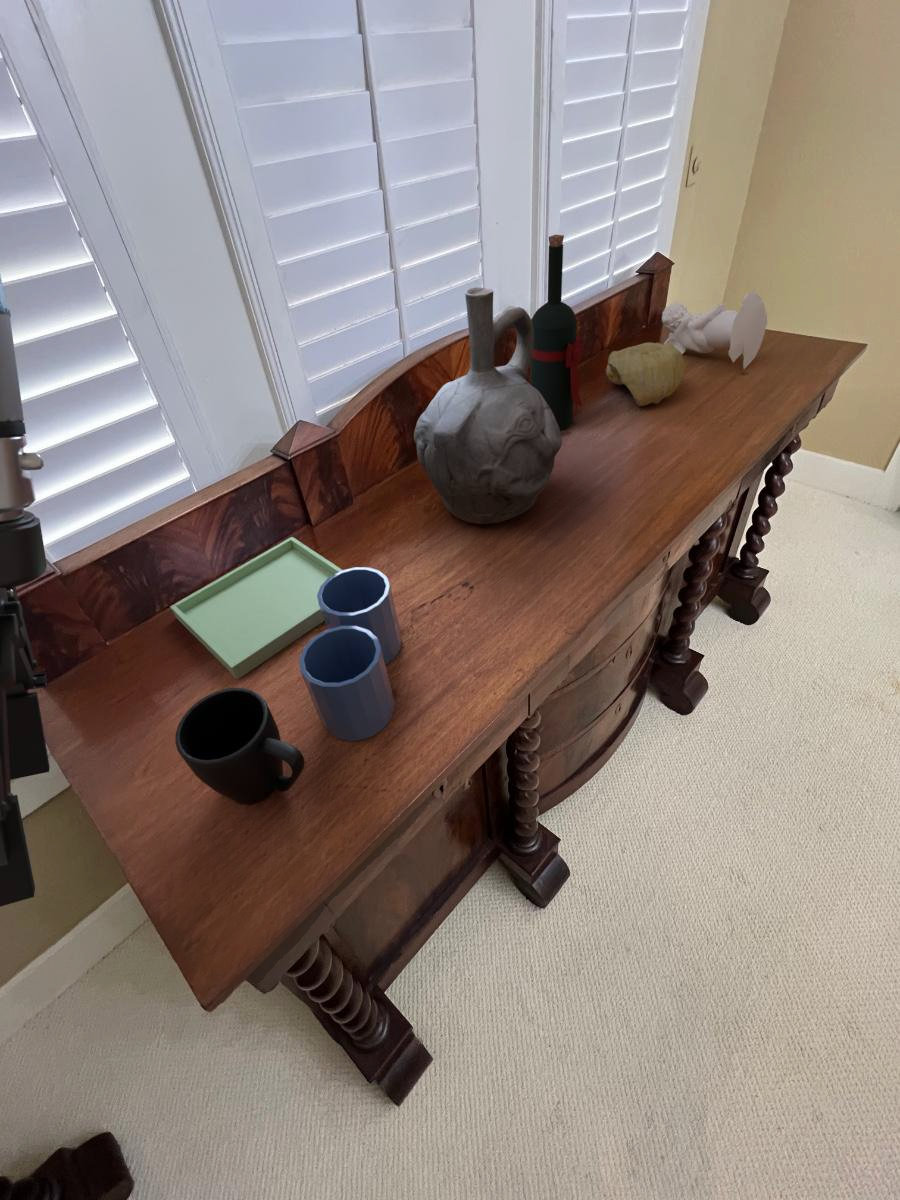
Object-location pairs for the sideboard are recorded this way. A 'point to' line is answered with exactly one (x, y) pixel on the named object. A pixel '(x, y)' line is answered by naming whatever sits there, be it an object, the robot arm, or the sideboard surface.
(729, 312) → the angel figurine
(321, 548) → the sideboard surface
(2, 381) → the robot arm
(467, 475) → the vessel
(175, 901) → the sideboard surface
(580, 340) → the wine bottle
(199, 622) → the tray
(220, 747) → the mug
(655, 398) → the seashell
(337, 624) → the blue cup back
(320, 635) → the blue cup front
